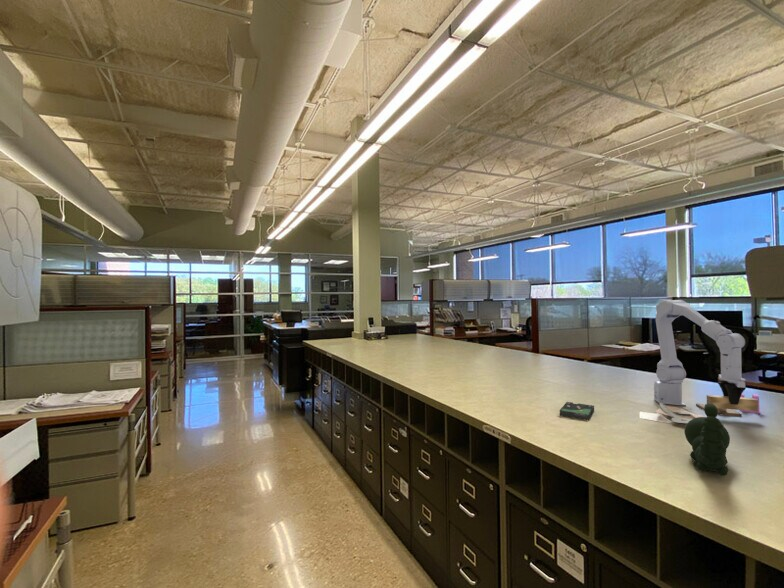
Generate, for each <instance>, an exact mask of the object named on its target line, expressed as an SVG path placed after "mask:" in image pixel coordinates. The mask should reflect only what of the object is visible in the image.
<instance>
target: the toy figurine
mask: <svg viewBox="0 0 784 588" xmlns="http://www.w3.org/2000/svg"><path fill="white" fill-rule="evenodd" d="M705 404H706V405H705V406H704V410H703V412H704V413H705V415H706V416H704V417H697V418H694V419H692V420H690V421H689V422H688V423H687V424H685V427H684V435H685V439H686V440H687V443H689V445H690V446H691V450H692V451H691V452H690V454H689V456H690V458H691V460H693V462H692V465H693V467H694V468H695V469H697V470H698V471H699V472H703V473H704V472H706V471H707V470H708V471H714V472H717V474H718V475H720V476H723V477H725V476H727V475H728V474H729V471H730V470H729V468H728V466H727V464H728V462H729V461H728V460H727V456H726V455H727V449H728V448H729V446H730V442H731V437H730V434H729V431H728V429H727V428H726V427H725V426H724V425H723V424H722V422H721V421H720V419H719V418H717V417H718V410H717V408H716V406H715V405H714V404H712V403H707V402H706V403H705Z"/></svg>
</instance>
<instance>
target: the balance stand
mask: <svg viewBox="0 0 784 588" xmlns="http://www.w3.org/2000/svg"><path fill="white" fill-rule="evenodd" d="M706 404H707V403H695V406H696V407H697V408H699V409H701V410H703V411H704V406H705V405H706ZM717 410H718V415H719V416H720V415H721V416H731V417H742V413H741V412H740V411H738V410H735V409H722V408H717ZM718 415H717V416H718Z"/></svg>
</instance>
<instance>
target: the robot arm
mask: <svg viewBox="0 0 784 588" xmlns="http://www.w3.org/2000/svg"><path fill="white" fill-rule="evenodd" d="M655 309H656V314H655V315H656V316H655V326H656V333H657V338H658V345H659V351H660V358H661V359H660V360H659V362H657V364H656V368H657V369H656V371H655V373H656V377H657V378H658V380H659V381H658V380H656V381H654V383H653V385H654V386H653V400H654V401H655V402H657V403H658V404H660V403H663V404H664V405H671V406H672V405H673V406H674V405H675V406H683V407H684V406H687V404H686V403H684V402H683V382H684V380H685V379H686V377H687V372H686V369H685V368H684V366H683V363H682V362H681V361H680V359H678V357H677V356H678V355H677V349H676V345H675V344H676V343H675V336H674V332H673V324H672V323H673V322H674V320H675V319H677V318H679V317H680V316H684V317H685V318H687V319H688V320H690V321H692V322H693V323H695V324H696V325H697V326H699V327H701V331H702V333H704V334H705V335H707V336H708V337H709V338H711V339H712V340H714V341H715V344H716V345H717V347H718V348H719V352H720V374H718V380H720V381H717V384H718V386H719V388H720V389H721V392H722V396H729V402H730V404H735V405H738V403H739V400H740V397H741V394H742V393H743V394H744V391H745V390H746V389H747V388H746V381H747V379H746V378H742V348H744V347H745V345H746V339H745V338H744V336H742V335H741V334H740V333H737V332H734V333H733V332H732V330H731V329H728V328H726V327H725V326H723V325H722V324H721V322H720V321H719V320H715V319H713V320H712V319H711V320H709V319H707V318H706V317H705V316H703V315H702V314H701V313H700V312H698V311H697V310H695V309H694V308H693V307H692V306H691V304H690V303H688V302H686V301H685V300H683V299H677V300H672V299H671V300H667V299H663V300H660V301H659V302H658V303H657V305H656V306H655Z"/></svg>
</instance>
